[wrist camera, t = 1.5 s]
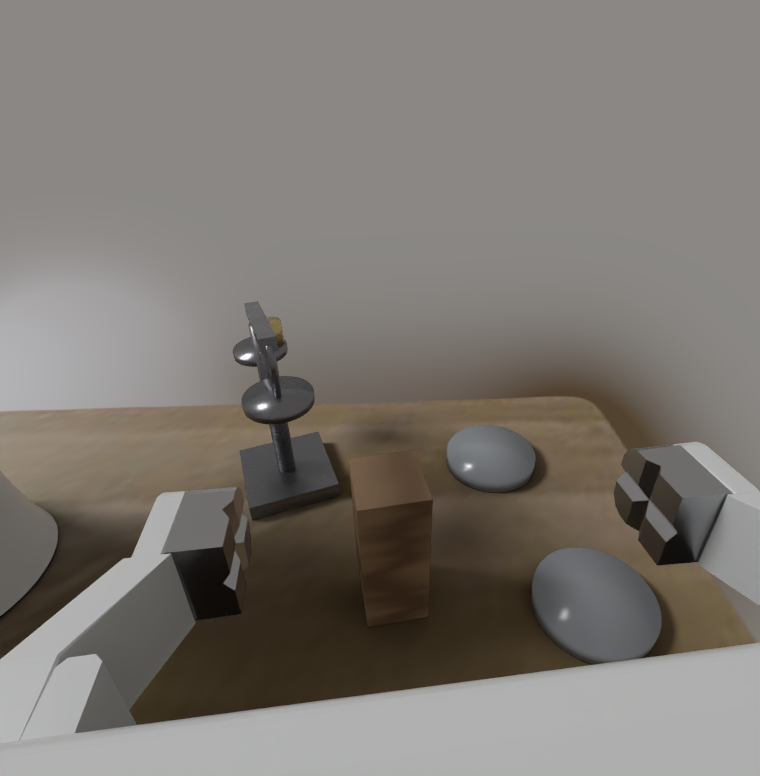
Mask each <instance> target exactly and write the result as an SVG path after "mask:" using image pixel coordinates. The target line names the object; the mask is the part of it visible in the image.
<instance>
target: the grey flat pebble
mask: <svg viewBox="0 0 760 776" xmlns="http://www.w3.org/2000/svg"><path fill="white" fill-rule="evenodd" d="M535 460H536V458H535V452H534V450H533V448H532V446H531V445H530V443H529V442H528V441H527V440H526V439H525V438H523V437H522V436H521V435H519V434H517V433H516V432H513V431H511V430H509V429H506V428H503V427H498V426H492V425H478V426H472V427H468V428H465V429H463V430H461V431H459V432H457V433H456V434H455V435H454V436H453V437H452V438H451V439H450V441H449V443H448V446H447V465H448V468H449V470H450V471H451V473H452V474H453V475H454V477H455V478H457V479H458V480H459V481H460V482H462V483H463V484H465V485H467V486H469V487H471V488H473V489H476V490H480V491H484V492H491V493H502V492H509V491H513V490H515V489H518V488H520V487H522V486H523V485H525V484H526V483H527V482H528V481H529V480H530V478H531V477H532V474H533V471H534V465H535Z"/></svg>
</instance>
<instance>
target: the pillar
mask: <svg viewBox="0 0 760 776" xmlns="http://www.w3.org/2000/svg"><path fill="white" fill-rule="evenodd" d="M348 461H349V471H350V482H351V492H352V502H353V513H354V523H355V533H356V544H357V554H358V564H359V574H360V581H361V588H362V594H363V601H364V608H365V615H366V621H367V628H369V627H374V626H380V625H385V624H391V623H396V622H402V621H407V620H413V619H419V618H424V617H428V612H429V585H430V558H431V531H432V504H433V499H432V496H431V493H430V490H429V487H428V485H427V482H426V479H425V476H424V473H423V470H422V467H421V464H420V461H419V458H418V455H417V453H416V450H409V451H402V452H395V453H387V454H380V455H373V456H366V457H359V458H351V459H348Z"/></svg>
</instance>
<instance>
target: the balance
mask: <svg viewBox="0 0 760 776" xmlns="http://www.w3.org/2000/svg"><path fill="white" fill-rule="evenodd" d="M245 310H246V314H247V317H248V320H249V329H250V334H251V337H249V338H247V339H244V340H242V341H240V342H239V343H238V344H236V346H235V347H234V349H233V355H234V359H235V361H236V362H238V363H239V364H241V365H245V366H254V367H255V366H257V368H258V373H259V377H260V382H258V383H256V384H254V385H252V386H251V387H250V388H249V389H248V390H246V392H245V393H244V395H243V397H242V407H243V411H244V413H245V415H246V416H247V417H248V418H249V419H251V420H253V421H255V422H258V423H262V424H269V426H270V430H271V435H272V440H273V443H270V444H265V445H261V446H257V447H253V448H249V449H245V450H241V451H240V456H241V462H242V468H243V474H244V480H245V486H246V492H247V498H248V504H249V509H250V513H251V517H252V520H255V519H258V518H262V517H265V516H269V515H272V514H276V513H280V512H283V511H287V510H290V509H294V508H297V507H301V506H304V505H308V504H312V503H315V502H319V501H322V500H326V499H329V498H333V497H336V496H340V490H339V483H338V481H337V478H336V475H335V473H334V470H333V468H332V465H331V463H330V460H329V458H328V455H327V453H326V450H325V447H324V445H323V442H322V440H321V437H320V435H319V432H315V433H311V434H307V435H302V436H298V437H294V438H290V433H289V427H288V422H290V421H292V420H295V419H297V418H299V417H301V416H303V415H304V414H306V413H307V412H308V411H309V410H310V409H311V408H312V406H313V404H314V400H315V397H314V390H313V387H312V385H311V384H310V383H309V382H307V381H306V380H304V379H301V378H298V377H292V376H279V372H278V366H277V361H279V360H281V359H282V358H283V357H284V356H285V355H286V354H287V351H288V348H287V343H286V341H285V340H284V337H283V331H282V326H281V320H280V319H279V318H277V317H267V318H266V316H265V314H264V312H263V310H262V308H261V306H260V305H259V303H258V301H257V302H251V303H245Z"/></svg>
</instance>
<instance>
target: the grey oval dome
mask: <svg viewBox="0 0 760 776" xmlns="http://www.w3.org/2000/svg"><path fill="white" fill-rule="evenodd" d="M531 604H532V608H533V611H534V614H535V616H536V619H537V621H538V622H539V624H540V626H541V627H542V629H543V630H544V631H545V633H546V634H547V635H548V636H549V637H550V638H551V640H552V641H553V642H554V643H556V644H557V645H558V646H559V647H560V648H562V649H563V650H564V651H566V652H567V653H569V654H570V655H572V656H574V657H575V658H577V659H579V660H582V661H584V662H586V663H589V664H592V665H596V664H603V663H611V662H618V661H626V660H633V659H641V658H645V657H646V656H647V655H648V654H649V652H650V651H651V649H652V648H653V646H654V644H655V642H656V640H657V638H658V636H659V634H660V630H661V624H662V618H661V611H660V607H659V604H658V601H657V599H656V597H655V595H654V593H653V591H652V590H651V588H650V587H649V585H648V584H647V583H646V582H645V580H644V579H643V578H642V577H641V576H640V575H639V574H638V573H637V572H636V571H634V570H633V569H632V568H631V567H630V566H628V565H627V564H625V563H624V562H622V561H621V560H619V559H617V558H615V557H613V556H611V555H609V554H606V553H604V552H601V551H597V550H594V549H589V548H579V547H574V548H565V549H561V550H557V551H555V552H553V553H551V554H549V555H548V556H546V557H545V558H544V559H543V560H542V561H541V562H540V564H539V565H538V567H537V569H536V571H535V574H534V577H533V582H532V586H531Z"/></svg>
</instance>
